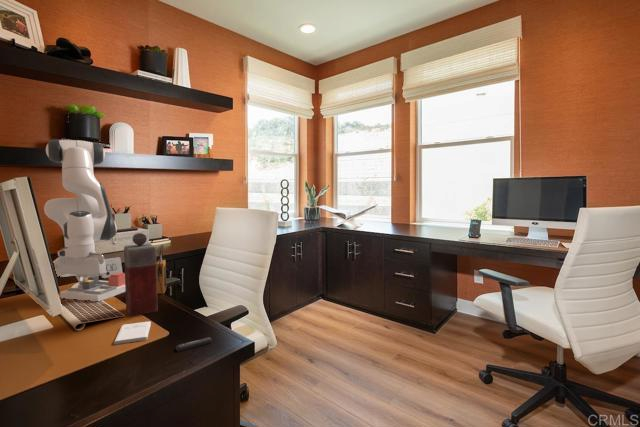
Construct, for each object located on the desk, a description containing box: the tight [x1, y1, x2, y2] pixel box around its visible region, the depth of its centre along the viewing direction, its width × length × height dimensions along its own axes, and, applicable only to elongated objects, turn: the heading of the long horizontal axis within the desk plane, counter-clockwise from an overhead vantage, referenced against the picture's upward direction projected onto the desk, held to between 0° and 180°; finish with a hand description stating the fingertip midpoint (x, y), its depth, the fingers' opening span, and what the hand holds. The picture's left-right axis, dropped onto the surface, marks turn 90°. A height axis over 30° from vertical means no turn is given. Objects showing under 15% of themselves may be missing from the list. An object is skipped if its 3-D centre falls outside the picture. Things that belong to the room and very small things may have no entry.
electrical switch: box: [100, 256, 124, 279], centre depth 167 cm, size 9×5×9 cm, turn 141°
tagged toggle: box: [82, 280, 96, 289], centre depth 135 cm, size 3×3×4 cm
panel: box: [59, 279, 126, 302], centre depth 139 cm, size 18×18×4 cm
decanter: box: [123, 232, 159, 317], centre depth 120 cm, size 9×11×28 cm
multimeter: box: [156, 245, 167, 298], centre depth 140 cm, size 15×10×20 cm
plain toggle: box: [88, 275, 100, 284], centre depth 143 cm, size 3×3×4 cm
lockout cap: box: [107, 272, 125, 287], centre depth 143 cm, size 5×5×5 cm
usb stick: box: [175, 336, 213, 352], centre depth 93 cm, size 10×3×2 cm, turn 127°
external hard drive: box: [113, 321, 152, 345], centre depth 100 cm, size 2×8×12 cm
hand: (83, 285), depth 135 cm, fingers closed
